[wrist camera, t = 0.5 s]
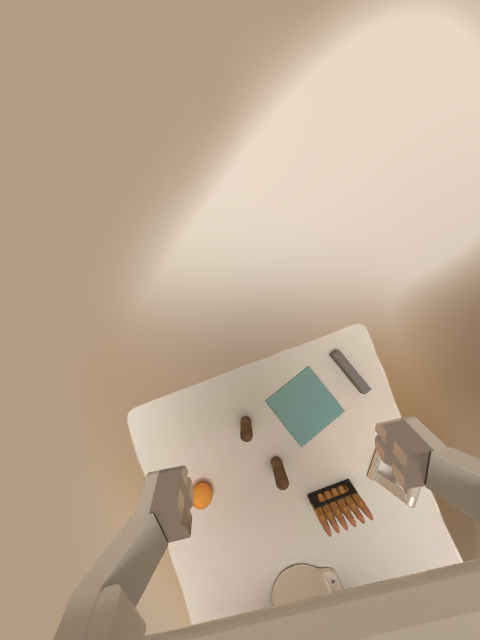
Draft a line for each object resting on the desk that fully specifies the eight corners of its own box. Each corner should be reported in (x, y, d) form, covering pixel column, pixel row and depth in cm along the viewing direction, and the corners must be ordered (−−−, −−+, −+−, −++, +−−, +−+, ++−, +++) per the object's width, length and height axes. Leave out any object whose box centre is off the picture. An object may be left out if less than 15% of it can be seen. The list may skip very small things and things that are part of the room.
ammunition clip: (310, 501, 58) (327, 543, 46) (307, 494, 58) (324, 533, 46) (351, 486, 59) (379, 523, 47) (348, 478, 59) (375, 513, 47)
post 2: (283, 463, 59) (291, 484, 50) (275, 469, 59) (281, 492, 50) (277, 454, 59) (283, 474, 50) (268, 461, 59) (273, 482, 50)
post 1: (253, 422, 60) (255, 436, 51) (244, 429, 60) (245, 444, 51) (246, 414, 60) (247, 426, 51) (238, 420, 60) (237, 434, 51)
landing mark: (344, 410, 60) (344, 411, 60) (301, 446, 59) (301, 447, 59) (308, 366, 61) (308, 366, 61) (265, 400, 61) (265, 401, 60)
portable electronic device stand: (377, 440, 60) (399, 456, 51) (407, 453, 59) (434, 471, 51) (365, 474, 59) (386, 496, 50) (396, 487, 58) (422, 511, 50)
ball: (217, 491, 59) (215, 504, 54) (201, 504, 58) (197, 519, 53) (205, 474, 59) (201, 486, 54) (188, 487, 59) (183, 500, 54)
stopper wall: (366, 387, 61) (371, 389, 58) (360, 392, 61) (365, 394, 58) (335, 349, 62) (339, 349, 59) (329, 354, 61) (332, 354, 59)
